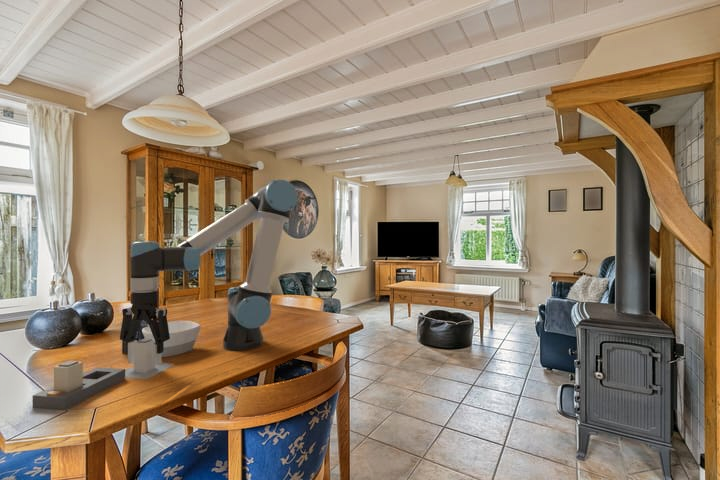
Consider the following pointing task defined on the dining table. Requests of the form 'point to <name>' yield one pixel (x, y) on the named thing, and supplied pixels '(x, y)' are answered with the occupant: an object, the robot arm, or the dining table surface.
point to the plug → (143, 355)
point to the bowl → (177, 337)
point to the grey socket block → (79, 389)
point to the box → (138, 335)
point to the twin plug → (68, 376)
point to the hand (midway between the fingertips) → (144, 362)
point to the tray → (158, 368)
